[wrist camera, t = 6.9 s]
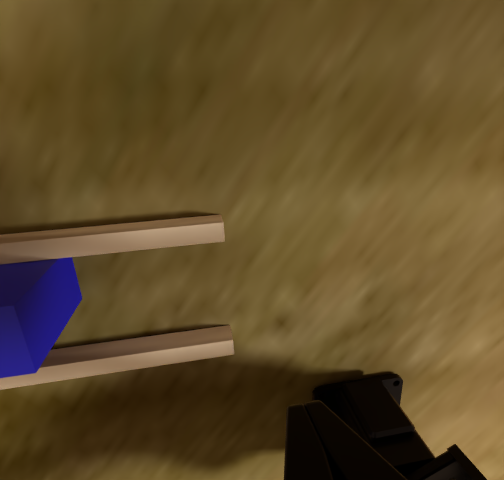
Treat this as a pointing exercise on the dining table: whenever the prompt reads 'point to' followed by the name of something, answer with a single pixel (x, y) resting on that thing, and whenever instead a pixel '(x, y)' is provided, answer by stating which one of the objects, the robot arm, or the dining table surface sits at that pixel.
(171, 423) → the dining table surface
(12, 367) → the blue cradle block
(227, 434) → the dining table surface
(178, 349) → the guide track
